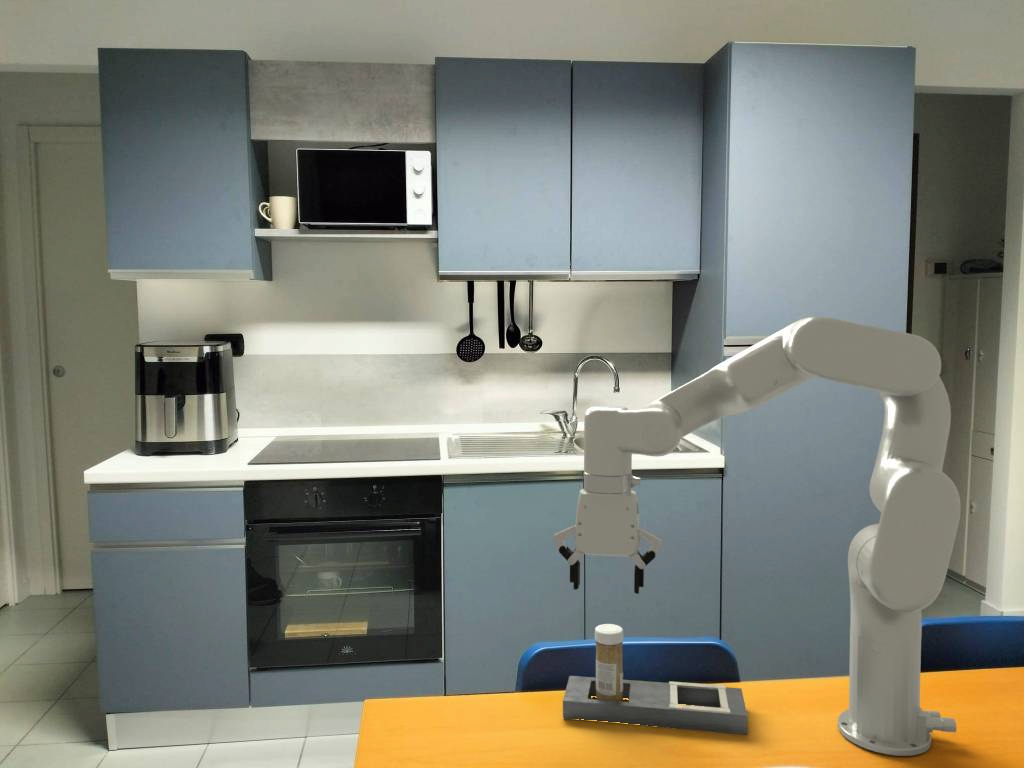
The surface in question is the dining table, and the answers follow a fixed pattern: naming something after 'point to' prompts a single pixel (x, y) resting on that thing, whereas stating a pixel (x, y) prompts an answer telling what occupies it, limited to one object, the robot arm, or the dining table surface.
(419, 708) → the dining table surface
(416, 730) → the dining table surface
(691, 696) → the rail
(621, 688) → the sprinkles bottle
